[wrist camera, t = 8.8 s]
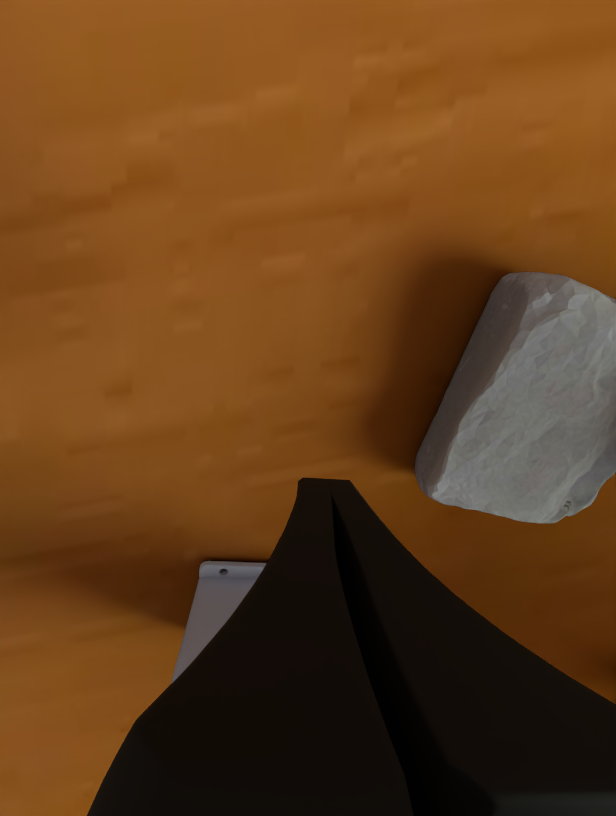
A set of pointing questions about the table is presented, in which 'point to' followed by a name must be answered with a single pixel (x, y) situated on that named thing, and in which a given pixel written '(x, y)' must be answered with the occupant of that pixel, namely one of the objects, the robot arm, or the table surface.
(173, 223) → the table surface
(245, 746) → the robot arm
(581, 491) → the stone block
